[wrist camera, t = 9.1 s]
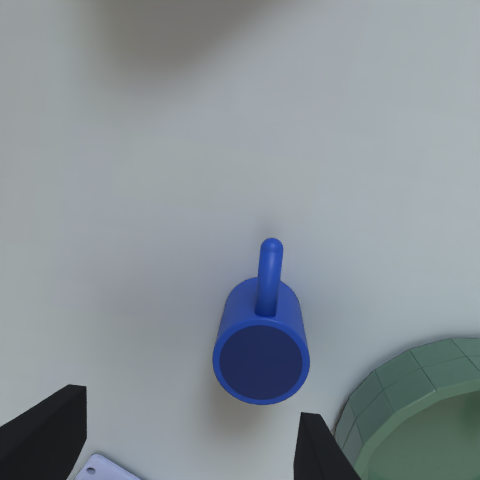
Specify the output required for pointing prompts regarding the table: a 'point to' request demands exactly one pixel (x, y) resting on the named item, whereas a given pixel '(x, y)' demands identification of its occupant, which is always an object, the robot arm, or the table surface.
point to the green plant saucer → (417, 416)
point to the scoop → (262, 336)
